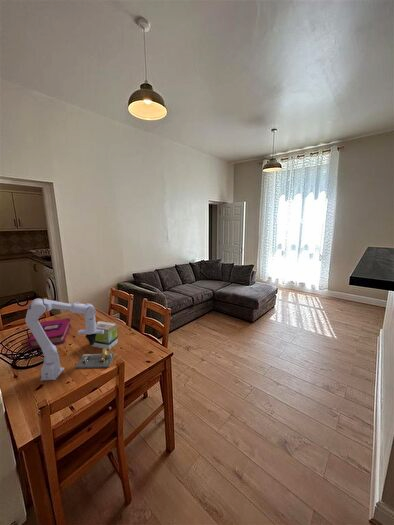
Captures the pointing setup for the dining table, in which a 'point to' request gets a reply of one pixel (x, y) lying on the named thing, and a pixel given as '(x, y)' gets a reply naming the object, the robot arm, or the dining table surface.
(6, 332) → the dining table surface
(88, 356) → the slider beam
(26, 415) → the dining table surface
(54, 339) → the book
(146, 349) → the dining table surface
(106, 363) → the bolt plate
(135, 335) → the dining table surface
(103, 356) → the slider handle
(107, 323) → the tea box
